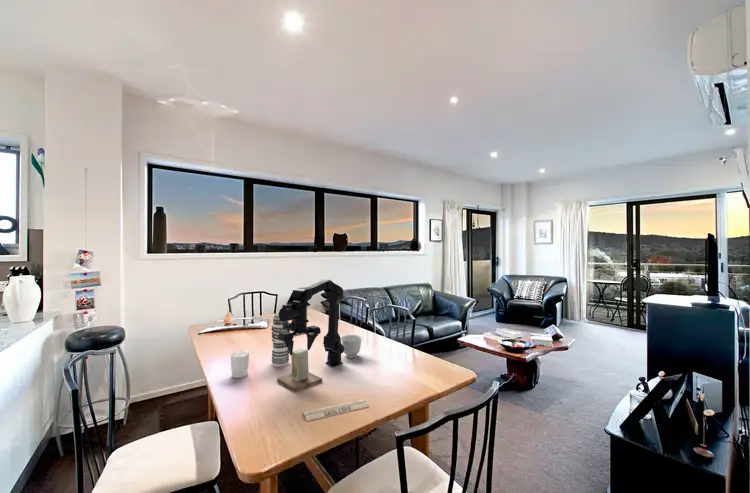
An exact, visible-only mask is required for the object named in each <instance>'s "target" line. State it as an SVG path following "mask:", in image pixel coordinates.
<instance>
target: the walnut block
mask: <svg viewBox="0 0 750 493" xmlns="http://www.w3.org/2000/svg"><path fill="white" fill-rule="evenodd" d="M276 382H277V383H278V384H280V385H281V386H283V387H285V388H287V389H289V390H291V391H292V392H293V393H297V392H299V391H301V390H304V389H307V388H310V387H313V386H315V385H317V384H318V385H319V384H320V383H321V384H322V382H323V378H322V377H320V376H318V375H316V374H314V373H311V372H309V377H308V378H305V379H303V380H301V381H298V382H297V381H295V380H292V373H290V374H287V375H284V376H280V377H277V378H276Z"/></svg>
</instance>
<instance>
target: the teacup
mask: <svg viewBox="0 0 750 493" xmlns="http://www.w3.org/2000/svg"><path fill="white" fill-rule="evenodd" d="M340 338H341V344H342V345H343V346H344V347H345V349H344V352H343V353H344V354H345V357H346V358H348V359H353V358H354V357H355V358H357V356H358V354H359V353H360V351H361V347H362V346H361V344H362V340H363V337H362V336H360V335H358V334H348V335H343V336H340Z"/></svg>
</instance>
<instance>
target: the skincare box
mask: <svg viewBox="0 0 750 493" xmlns="http://www.w3.org/2000/svg"><path fill="white" fill-rule="evenodd" d="M290 356H291V357H290V358H291V374H292V380H295V381H297V382H298V381H301V380H303V379H305V378H308V377H309V350H307V349H305V348H300V349H297V350H293V352H292V355H290Z"/></svg>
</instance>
